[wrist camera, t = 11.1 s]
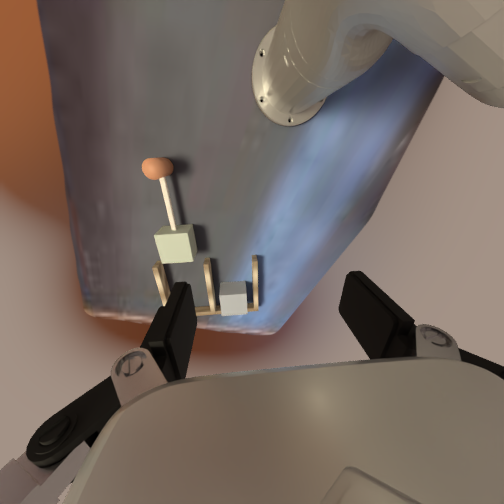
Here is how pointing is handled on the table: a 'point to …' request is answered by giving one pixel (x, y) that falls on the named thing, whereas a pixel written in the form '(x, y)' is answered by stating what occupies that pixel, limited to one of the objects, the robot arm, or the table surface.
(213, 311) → the lane rack
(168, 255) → the knob-topped lever
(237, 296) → the blue-grey block
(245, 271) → the table surface
